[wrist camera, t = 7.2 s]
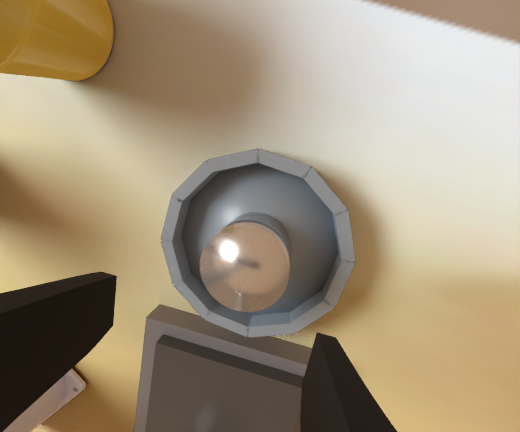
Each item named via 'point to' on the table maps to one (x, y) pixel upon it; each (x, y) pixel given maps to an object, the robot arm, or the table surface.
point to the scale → (216, 378)
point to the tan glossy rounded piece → (247, 262)
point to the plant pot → (55, 37)
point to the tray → (279, 207)
